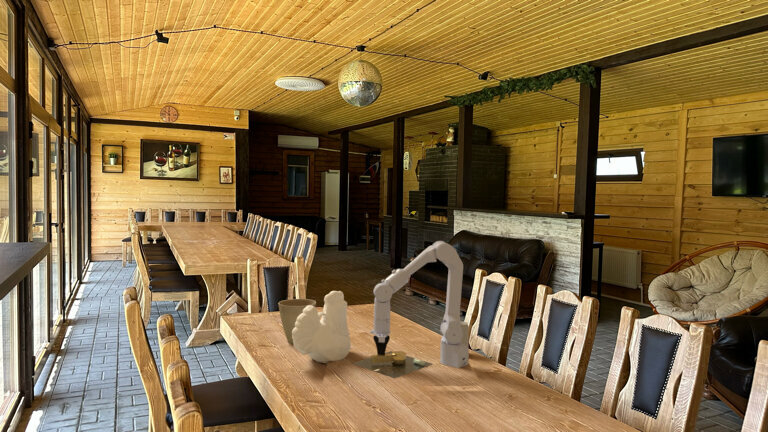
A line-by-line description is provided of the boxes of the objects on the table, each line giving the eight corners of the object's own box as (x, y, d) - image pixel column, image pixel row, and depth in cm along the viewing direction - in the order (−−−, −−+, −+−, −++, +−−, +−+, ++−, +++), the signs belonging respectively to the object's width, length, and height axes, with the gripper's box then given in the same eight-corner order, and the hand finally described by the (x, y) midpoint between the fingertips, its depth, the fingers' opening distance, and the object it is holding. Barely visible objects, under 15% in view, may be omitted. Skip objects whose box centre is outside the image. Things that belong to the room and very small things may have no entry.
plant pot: (319, 337, 215) (319, 299, 214) (310, 347, 200) (311, 307, 199) (284, 335, 216) (284, 297, 215) (273, 345, 201) (273, 305, 201)
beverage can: (448, 354, 194) (449, 323, 193) (454, 350, 200) (455, 319, 199) (465, 357, 191) (465, 325, 190) (470, 353, 197) (471, 322, 196)
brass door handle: (403, 359, 182) (403, 350, 182) (407, 364, 177) (407, 355, 177) (370, 361, 179) (370, 352, 179) (373, 366, 174) (373, 357, 174)
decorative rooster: (335, 349, 198) (336, 285, 197) (359, 360, 186) (361, 292, 185) (276, 362, 183) (277, 292, 181) (298, 374, 170) (299, 300, 169)
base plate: (433, 368, 179) (433, 359, 179) (394, 382, 164) (394, 373, 164) (391, 355, 193) (391, 346, 192) (351, 367, 178) (351, 358, 178)
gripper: (370, 313, 185) (369, 350, 186) (370, 323, 171) (369, 363, 172) (390, 313, 186) (389, 350, 186) (391, 323, 171) (390, 364, 172)
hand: (381, 356), depth 179 cm, fingers closed, pressing on brass door handle
